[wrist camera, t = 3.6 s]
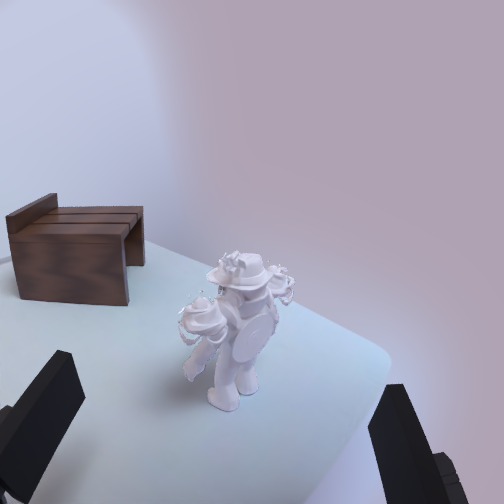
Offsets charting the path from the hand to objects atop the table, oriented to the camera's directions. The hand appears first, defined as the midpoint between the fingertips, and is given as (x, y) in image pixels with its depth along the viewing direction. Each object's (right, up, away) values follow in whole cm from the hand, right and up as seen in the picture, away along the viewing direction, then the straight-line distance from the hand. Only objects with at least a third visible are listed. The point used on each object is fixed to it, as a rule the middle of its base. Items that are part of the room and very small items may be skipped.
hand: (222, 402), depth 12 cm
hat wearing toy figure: (0, -5, +11) cm, 12 cm away
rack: (-20, +2, +25) cm, 32 cm away
